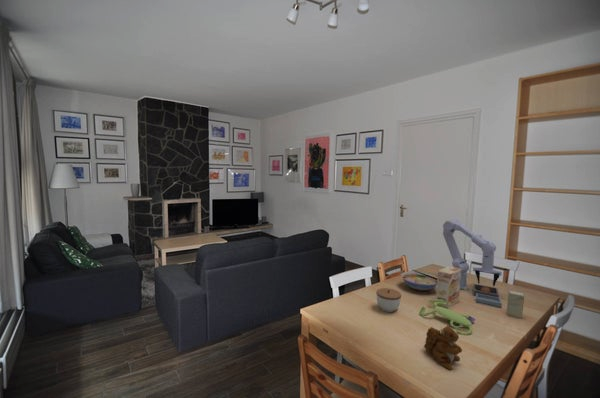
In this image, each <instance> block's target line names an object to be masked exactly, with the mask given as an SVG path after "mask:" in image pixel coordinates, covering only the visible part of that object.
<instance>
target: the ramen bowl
mask: <svg viewBox="0 0 600 398" xmlns="http://www.w3.org/2000/svg"><path fill="white" fill-rule="evenodd" d="M400 276H401V278H402V280H403V282H404V283H405V284H406V285H407V286H408V287H409V288H412V289H414V290H416V291H419V292H420V291H421V292H422V291H430V290H431V289H434V288H435V287H436V288H437V281H438V276H435V275H434V274H429V273H426V272H422V271H417V270H414V269H412V271H405V272H402V273H401V274H400Z"/></svg>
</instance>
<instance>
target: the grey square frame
mask: <svg viewBox="0 0 600 398" xmlns="http://www.w3.org/2000/svg"><path fill="white" fill-rule="evenodd" d="M472 286H473V288H472V291H473V292H472V295H473V297H476V293H479V294H484V295H489V296H494V297H499V298H500V294H499V291H498V290H499V289H498V288H497V287H495V286H488V285H484V284H478V283H473V285H472ZM484 286H485V287H488V288H489V289H490V293H488V292H482V291H481V288H482V287H484Z"/></svg>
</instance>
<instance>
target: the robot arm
mask: <svg viewBox="0 0 600 398" xmlns="http://www.w3.org/2000/svg"><path fill="white" fill-rule="evenodd" d="M442 227H443V229H442V230H443V232H442V235H443V237H444V240H445V243H446V245H447V247H448V250H449V253H450V255H451V258H452V263H451V266H452V267H456V268H460V269H461V279H460V289H463V290H467V278H468V277H467V275H468V273H467V272H468V271H469V270H470V265H469V264H468V263H467V262H466V260H465V258H463V257H462V255H461V253H460V250H459V248H458V245H457V243H456V239H455V237H454V233H455V232H456V231H457V232H458V231H459V232H461V233H462V234H464V235H466V237H469V238H470V239H471V242H472V243H473V244H475V245H476V246H478V247H479V248H480V249H481V251H482V258H481V267H472V271H473V272H474V273H475V276H476V279H477V284H478V285H480V279H481V278H480V275H481V273H485V274H492V275H493V280H492V282H493V283H492V287H495V286H496V283H497V281H498V279H499V278H500V277H501V276H502V274H503V272H502V271H499V270H495V269H494V262H495V260H494V259H495V258H494V257H495V256H494V255H495V252H496V250H497V247H496V245H495V244H494V243H493V242H490V241H489V240H487V239H485V238H484V237H483V235H481V234H475V233H474V232H472V231H471V230H470V229H469V228H468V227H466V225H464V224H463V223H462V222H460V221H459V220H458V219H452V220H445V221H444V223H443V224H442Z"/></svg>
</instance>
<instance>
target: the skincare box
mask: <svg viewBox="0 0 600 398" xmlns="http://www.w3.org/2000/svg"><path fill="white" fill-rule="evenodd" d="M524 304H525V294H524V293H523V292H518V291H512V290H508V293H507V302H506V311H505V313H506V315H507V316H510V317H514V318H518V319H523V311H524Z"/></svg>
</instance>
